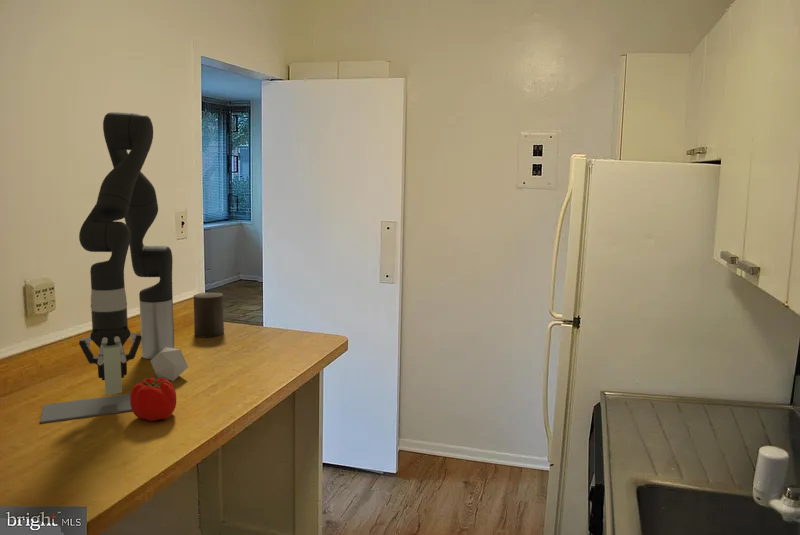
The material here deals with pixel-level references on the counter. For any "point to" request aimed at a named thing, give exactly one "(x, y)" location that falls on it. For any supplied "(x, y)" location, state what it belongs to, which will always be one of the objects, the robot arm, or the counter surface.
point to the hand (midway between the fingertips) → (112, 377)
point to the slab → (112, 369)
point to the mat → (85, 408)
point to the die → (169, 363)
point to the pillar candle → (208, 314)
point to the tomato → (153, 399)
